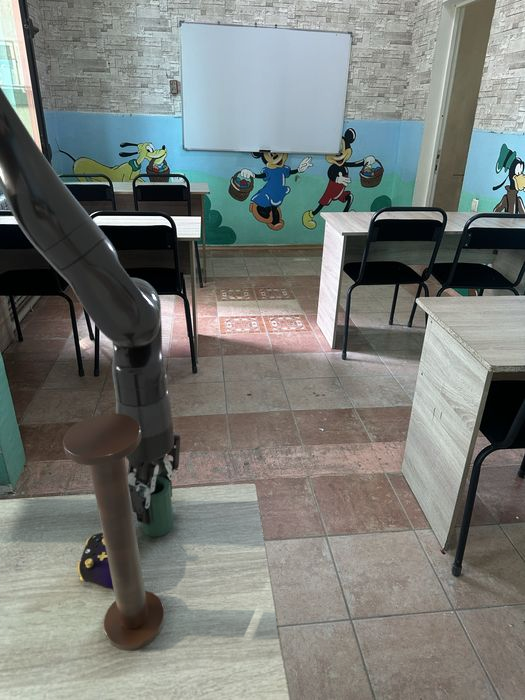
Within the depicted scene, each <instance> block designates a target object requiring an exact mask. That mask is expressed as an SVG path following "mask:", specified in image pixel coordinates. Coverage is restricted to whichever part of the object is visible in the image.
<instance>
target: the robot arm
mask: <svg viewBox="0 0 525 700" xmlns="http://www.w3.org/2000/svg"><path fill="white" fill-rule="evenodd" d="M0 189H1V192H2V194H3V196H4V198H5V201H6V203H7V205H8V207H9V209H10V212H11V214H12V215H13V217H14V219H15V221H16V223H17V225H18V227H19V228H20V229H21V231H22V232H23V234H24V235H25V237H26V238H27V239H28V240H29V242H30V243H31V244H32V245H33V247H34V248H35V249H36V250H37V251H38V252H39V253H40V254H41V255H42V257H44V259H45V260H46V261H47V262H48V263H49V264H50V266H51V267H52V268H53V269H54V270H55V271H56V272H57V273H58V274H59V275H60V276H61V277H62V278H63V279H64V280H65V281H66V282H67V283H68V285H69V286H70V287H71V289H72V291H73V293H74V295H75V296H76V298H77V299H78V301H79V302H80V304H81V306H82V307H83V309H84V310H85V312H86V313H87V315H88V317H89V318H90V320H91V321H92V322H93V323H94V325H95V326H96V327H97V329H98V330H99V331H100V332H101V333H102V334H103V335H104V337H106V338H107V339H108V340H109V341H111V342H112V349H113V358H112V364H111V365H112V366H111V367H112V368H111V370H112V371H111V373H112V374H111V375H112V382H113V388H114V394H115V395H114V396H115V413H117V414H124V415H127V416H130V417H132V418H134V419H135V420H136V421H137V422H138V423H139V425H140V429H141V441H140V443H139V445H138V446H137V448H136V449H135V450H134V451H133V452H132V453H130V454H129V455H128V456H126V457H125V458H126V459H127V461H128V468H127V476H128V483H129V489H130V496H131V503H132V509H133V513H135V514H136V520H137V522H138V523H140V524H141V523H143V524H147V525H150V524H151V523H152V522H153V516H152V508H151V504H150V501H151V493H153V492H154V491H155V484H156V477H157V476H162V477H164V478H166V479H167V480H168V481H169V483H170V491H171V498H172V497H173V483H172V479H173V478H174V470H175V471H177V470H178V468H179V466H180V452H181V451H180V450H181V435H179V434H175V433H174V425H173V412H172V404H171V399H170V395H169V389H168V388H169V387H168V378H167V369H166V368H167V367H166V363H165V358H164V354H163V353H164V352H163V327H162V326H163V325H162V306H161V298H160V296H159V294H158V292H157V290H156V289H155V288H154V287H153V286H152V285H151V284H150V283H149V282H148V281H146V280H145V279H141V278H138V277H130V275H129V274H128V273H127V271H126V269H124V267H123V266H122V264H121V263H120V260H119V256H118V255H119V254H118V252H117V250H116V248H115V246H114V245H113V243H112V242H111V240H110V239H109V238H108V236H107V235H105V233H104V231H103V230H102V229H101V228H100V227H99V225H98V224H97V223H96V221H94V219H93V218H92V217H91V216H90V214H89V213H88V212H87V211H86V210H85V208H84V207H83V206H82V205H81V204H80V202H79V201H78V200H77V199H76V197H75V196H74V195H73V194H72V192H71V191H70V189H69V188H68V187H67V185H66V184H65V183H64V182H63V181H62V178H60V176H59V175H58V173H57V172H56V171H55V170H54V168H53V167H52V165H51V164H50V162H49V161H48V159H47V158H46V156H45V155H44V153H43V152H42V150H41V149H40V148H39V146H38V144H37V143H36V141H35V140H34V138H33V137H32V135H31V134H30V132H29V130H28V129H27V127H26V125H25V124H24V123H23V121H22V120H21V117H20V116H19V114H17V112H16V110H15V108H14V107H13V105H12V104H11V102H10V101H9V99H8V97H7V96H6V93H5V92H4V90H3V89H2V87H1V86H0ZM170 457H172V460H171V459H170ZM140 482H142V483H145V484H148V486H147V485H144V484H141V483H140ZM140 493H143V494H144V499H143V498H140V497H139V496H140Z"/></svg>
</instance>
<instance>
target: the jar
mask: <svg viewBox="0 0 525 700" xmlns="http://www.w3.org/2000/svg"><path fill="white" fill-rule="evenodd" d="M139 483H141V484H144V485H147V486H148V484H145V483H142V482H139ZM139 497H140V498H143V499H144V494H143V493H140V496H139ZM172 501H173V500H172V497H171V491H170V483H169V481H168V480H167V479H166V478H164V477H162V476H157V477H156V484H155V491H154V492H153V493H151V501H150V504H151V508H152V516H153V522H152V523H151V524H150V525H147V524H143V523H141V522H140V525H141V528H142V531H143V533H144V534H145V535H146V536H148V537H153V538H157V537H162V536H164V535H166V534H169V532H170V531H171V530H172V528H173V527H174V513H173V503H172Z"/></svg>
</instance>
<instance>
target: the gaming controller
mask: <svg viewBox="0 0 525 700" xmlns="http://www.w3.org/2000/svg"><path fill="white" fill-rule="evenodd" d="M77 573H78V575H79V576H80V577H79V581H83V582H84V583H92V584H95V585H97V586H100V587H103V588H106V589H109V590H114V588H113V583H112V578H111V573H110V568H109V563H108V558H107V553H106V548H105V542H104V537H103V532H102V531H101V532H98V533H95V534H93V535H91V536H90V537H89V538H87V540H86V541H85V546H84V549H83V551H82V555H81V558H80V560H79V561H78V563H77Z"/></svg>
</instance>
